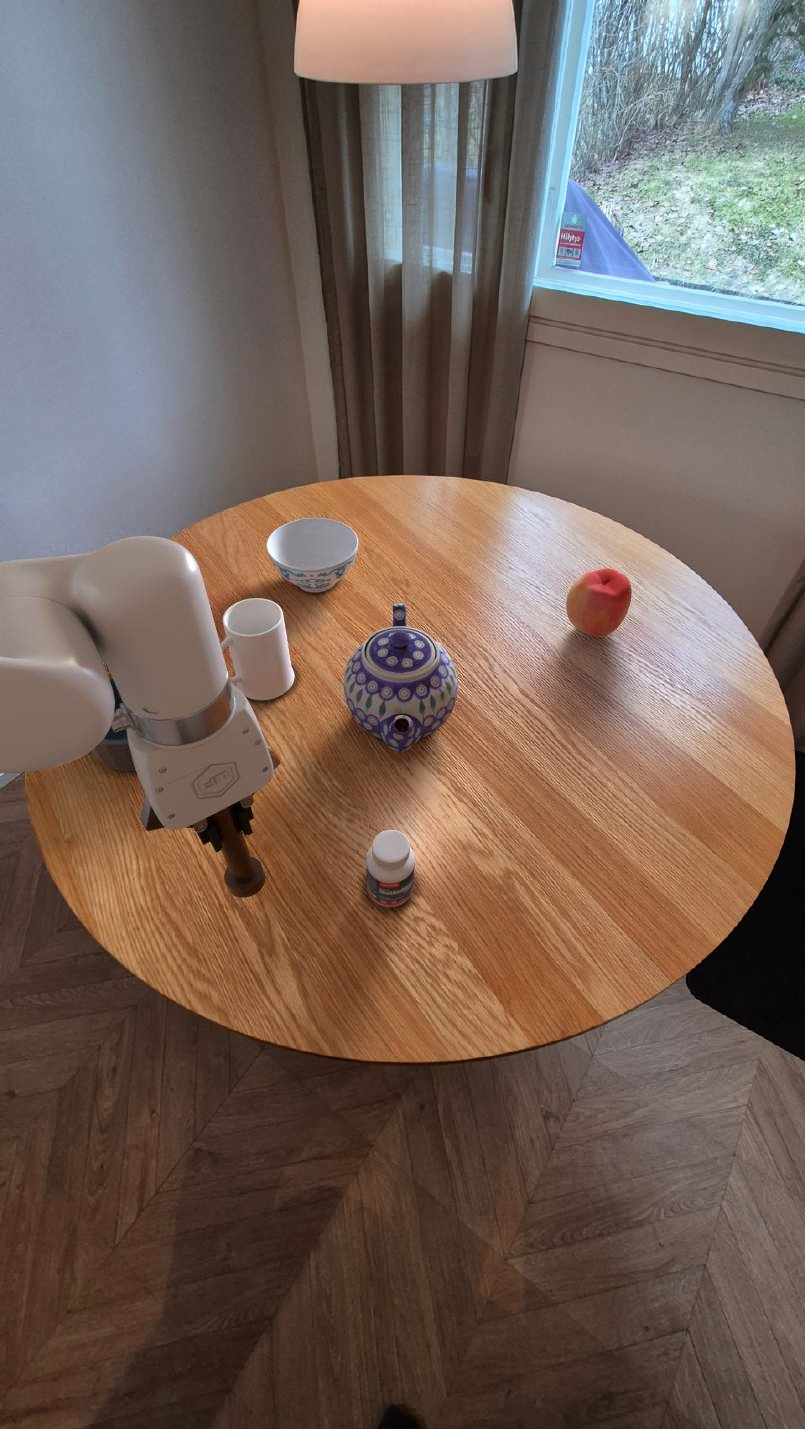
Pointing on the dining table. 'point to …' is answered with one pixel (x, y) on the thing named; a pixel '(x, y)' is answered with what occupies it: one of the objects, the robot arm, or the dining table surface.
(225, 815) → the rod
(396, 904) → the pill bottle
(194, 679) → the robot arm
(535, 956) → the dining table surface
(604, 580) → the apple
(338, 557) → the chinaware
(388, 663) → the teapot
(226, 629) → the mug
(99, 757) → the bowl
